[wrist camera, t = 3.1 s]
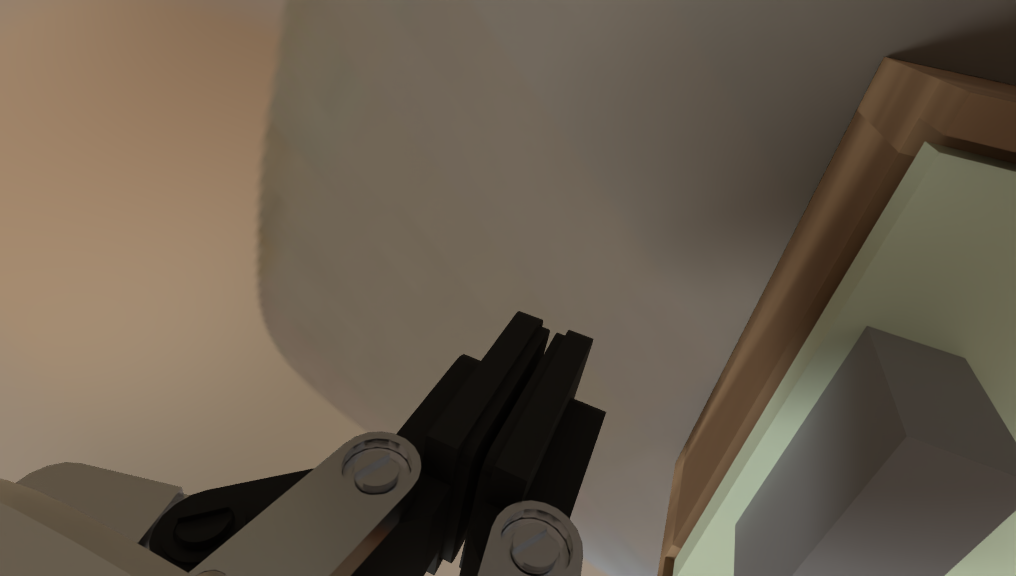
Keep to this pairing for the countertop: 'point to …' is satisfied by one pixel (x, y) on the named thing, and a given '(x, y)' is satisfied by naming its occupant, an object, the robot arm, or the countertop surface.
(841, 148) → the wooden drawer box
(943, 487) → the lid
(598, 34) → the countertop surface
